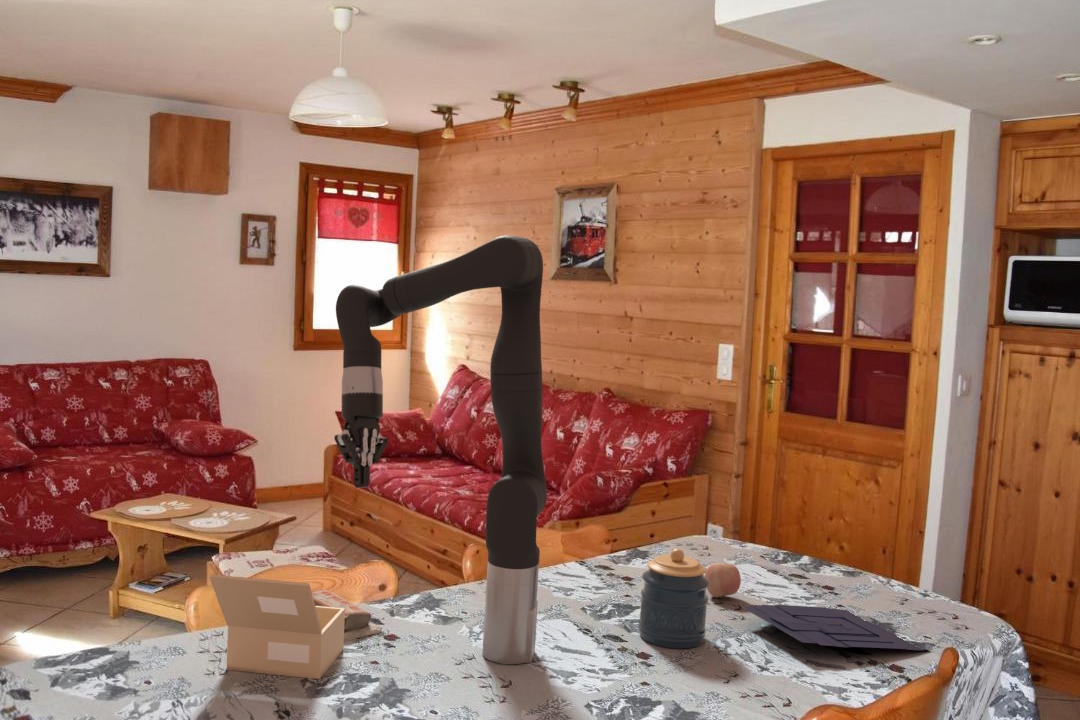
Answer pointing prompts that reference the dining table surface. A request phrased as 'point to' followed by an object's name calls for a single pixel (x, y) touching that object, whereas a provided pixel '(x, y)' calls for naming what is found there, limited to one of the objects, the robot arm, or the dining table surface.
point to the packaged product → (348, 615)
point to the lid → (266, 604)
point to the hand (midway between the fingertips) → (361, 487)
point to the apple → (722, 579)
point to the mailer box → (288, 647)
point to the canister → (674, 601)
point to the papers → (828, 627)
